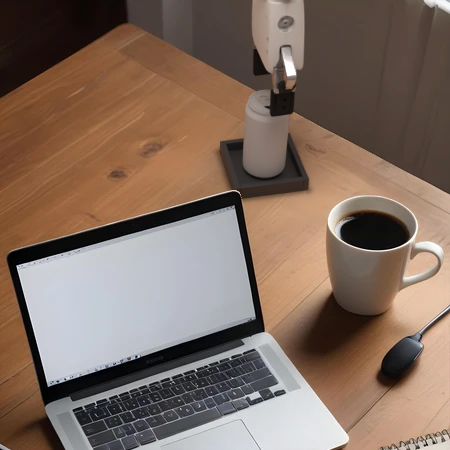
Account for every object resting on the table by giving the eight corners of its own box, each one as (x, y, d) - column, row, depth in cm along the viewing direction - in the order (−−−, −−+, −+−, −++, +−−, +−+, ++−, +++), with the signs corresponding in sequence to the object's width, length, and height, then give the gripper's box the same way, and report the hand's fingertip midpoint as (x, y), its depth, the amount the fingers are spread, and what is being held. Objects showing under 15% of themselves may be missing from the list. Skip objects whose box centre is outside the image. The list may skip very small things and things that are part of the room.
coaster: (288, 143, 131) (289, 132, 129) (307, 190, 124) (309, 179, 123) (219, 151, 129) (219, 140, 128) (235, 199, 123) (235, 188, 121)
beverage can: (263, 187, 123) (268, 120, 114) (233, 166, 126) (236, 99, 117) (293, 168, 126) (300, 102, 117) (263, 148, 129) (268, 81, 120)
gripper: (327, 7, 98) (315, 127, 111) (289, -61, 109) (282, 56, 122) (265, 14, 97) (261, 135, 110) (233, -55, 108) (232, 62, 121)
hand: (272, 93), depth 116 cm, fingers open, 9 cm apart
